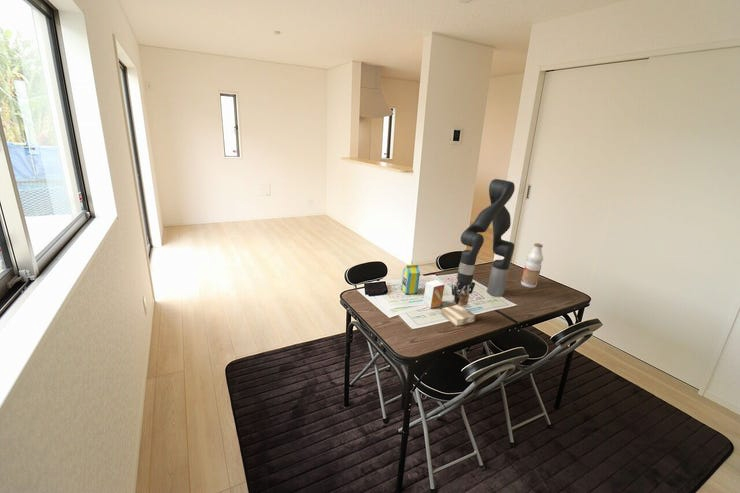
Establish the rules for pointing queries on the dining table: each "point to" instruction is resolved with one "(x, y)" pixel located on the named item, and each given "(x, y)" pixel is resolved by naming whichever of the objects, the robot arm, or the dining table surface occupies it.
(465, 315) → the beige square plate
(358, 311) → the dining table surface
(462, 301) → the walnut cube
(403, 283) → the carton
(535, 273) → the fruit juice
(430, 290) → the small box
